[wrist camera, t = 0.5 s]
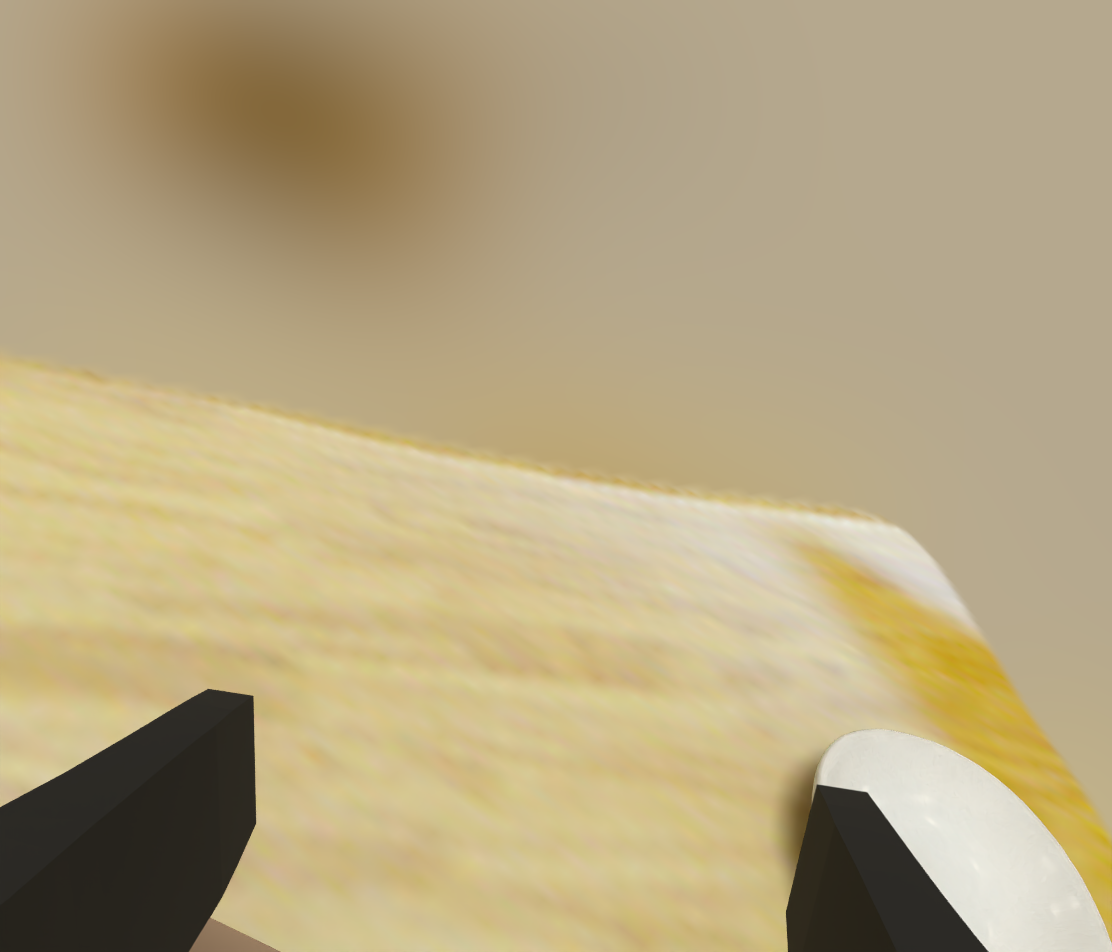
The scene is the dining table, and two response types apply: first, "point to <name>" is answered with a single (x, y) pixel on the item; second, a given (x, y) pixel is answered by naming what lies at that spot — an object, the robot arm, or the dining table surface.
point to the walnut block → (226, 940)
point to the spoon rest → (971, 841)
